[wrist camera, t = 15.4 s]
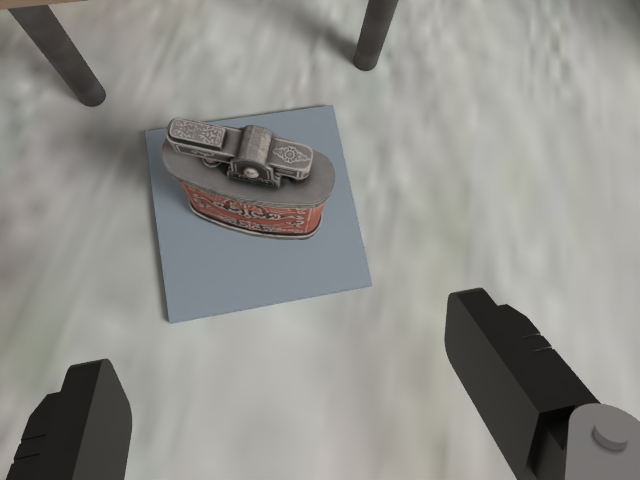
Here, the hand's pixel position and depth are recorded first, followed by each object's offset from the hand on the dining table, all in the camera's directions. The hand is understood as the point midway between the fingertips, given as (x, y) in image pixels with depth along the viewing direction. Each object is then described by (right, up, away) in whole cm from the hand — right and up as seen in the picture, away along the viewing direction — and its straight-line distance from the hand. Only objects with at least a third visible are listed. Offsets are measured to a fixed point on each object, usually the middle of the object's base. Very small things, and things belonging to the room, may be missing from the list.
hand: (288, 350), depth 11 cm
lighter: (-3, +4, +18) cm, 19 cm away
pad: (-3, +5, +18) cm, 19 cm away
